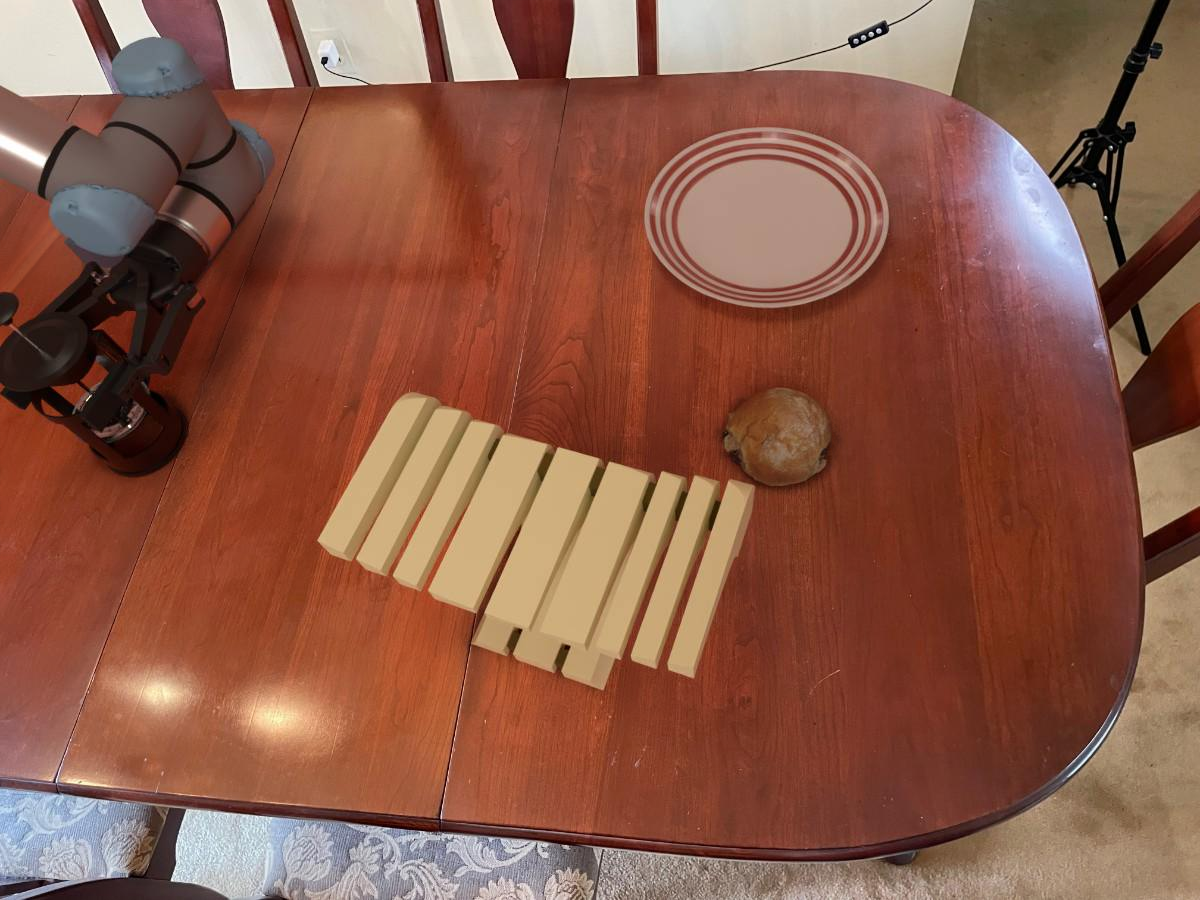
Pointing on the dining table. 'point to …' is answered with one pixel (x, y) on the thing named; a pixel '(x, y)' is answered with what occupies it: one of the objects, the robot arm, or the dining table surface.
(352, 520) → the slatted curved stool
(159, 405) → the french press
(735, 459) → the bread roll
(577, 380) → the dining table surface
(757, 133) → the dinner plate
